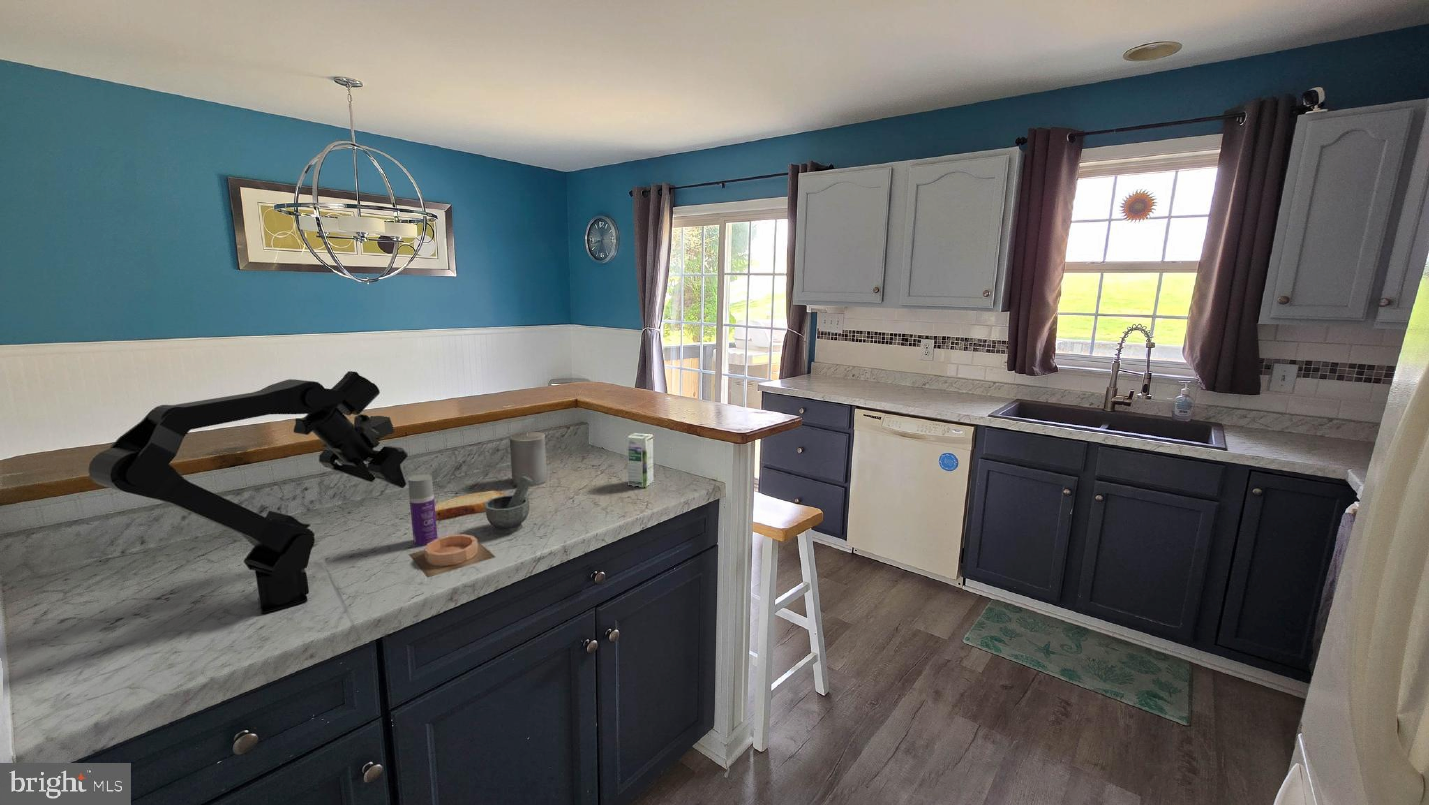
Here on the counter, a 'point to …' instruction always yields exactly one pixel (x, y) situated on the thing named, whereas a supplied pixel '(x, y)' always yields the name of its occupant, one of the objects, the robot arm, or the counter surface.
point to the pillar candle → (528, 457)
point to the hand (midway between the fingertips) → (388, 483)
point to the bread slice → (464, 505)
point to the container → (422, 509)
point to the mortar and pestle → (509, 509)
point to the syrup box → (640, 459)
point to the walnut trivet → (435, 570)
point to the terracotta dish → (451, 550)
